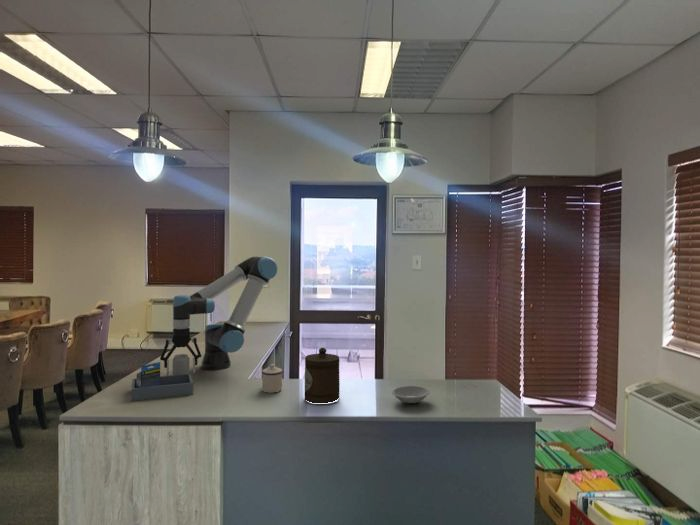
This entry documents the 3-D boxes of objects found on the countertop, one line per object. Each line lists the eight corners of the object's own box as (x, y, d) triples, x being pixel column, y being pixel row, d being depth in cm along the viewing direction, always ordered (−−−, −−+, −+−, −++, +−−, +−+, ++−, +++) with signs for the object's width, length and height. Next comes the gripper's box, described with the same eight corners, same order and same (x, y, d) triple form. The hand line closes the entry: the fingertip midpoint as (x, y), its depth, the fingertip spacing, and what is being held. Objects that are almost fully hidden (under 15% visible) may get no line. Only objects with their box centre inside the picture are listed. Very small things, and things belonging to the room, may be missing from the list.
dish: (410, 394, 194) (410, 383, 193) (437, 402, 183) (437, 391, 183) (383, 403, 181) (384, 391, 181) (411, 413, 171) (411, 400, 171)
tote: (190, 384, 203) (190, 373, 203) (193, 394, 188) (193, 383, 188) (132, 390, 193) (132, 378, 193) (131, 401, 178) (131, 389, 178)
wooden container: (306, 393, 192) (307, 344, 192) (340, 394, 192) (341, 344, 192) (302, 405, 178) (302, 351, 177) (338, 406, 177) (339, 352, 177)
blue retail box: (155, 388, 193) (155, 360, 193) (160, 389, 191) (160, 361, 191) (136, 393, 186) (136, 364, 185) (141, 394, 183) (141, 365, 183)
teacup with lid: (286, 390, 196) (286, 364, 196) (269, 395, 189) (269, 368, 189) (270, 384, 204) (271, 360, 204) (254, 388, 198) (254, 363, 198)
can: (183, 382, 205) (183, 357, 204) (169, 381, 206) (169, 356, 206) (192, 378, 212) (192, 354, 212) (178, 377, 213) (178, 353, 213)
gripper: (154, 330, 200) (154, 377, 201) (207, 327, 210) (207, 372, 210) (154, 327, 207) (154, 373, 207) (206, 325, 217) (205, 368, 217)
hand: (180, 373), depth 209 cm, fingers open, 11 cm apart
